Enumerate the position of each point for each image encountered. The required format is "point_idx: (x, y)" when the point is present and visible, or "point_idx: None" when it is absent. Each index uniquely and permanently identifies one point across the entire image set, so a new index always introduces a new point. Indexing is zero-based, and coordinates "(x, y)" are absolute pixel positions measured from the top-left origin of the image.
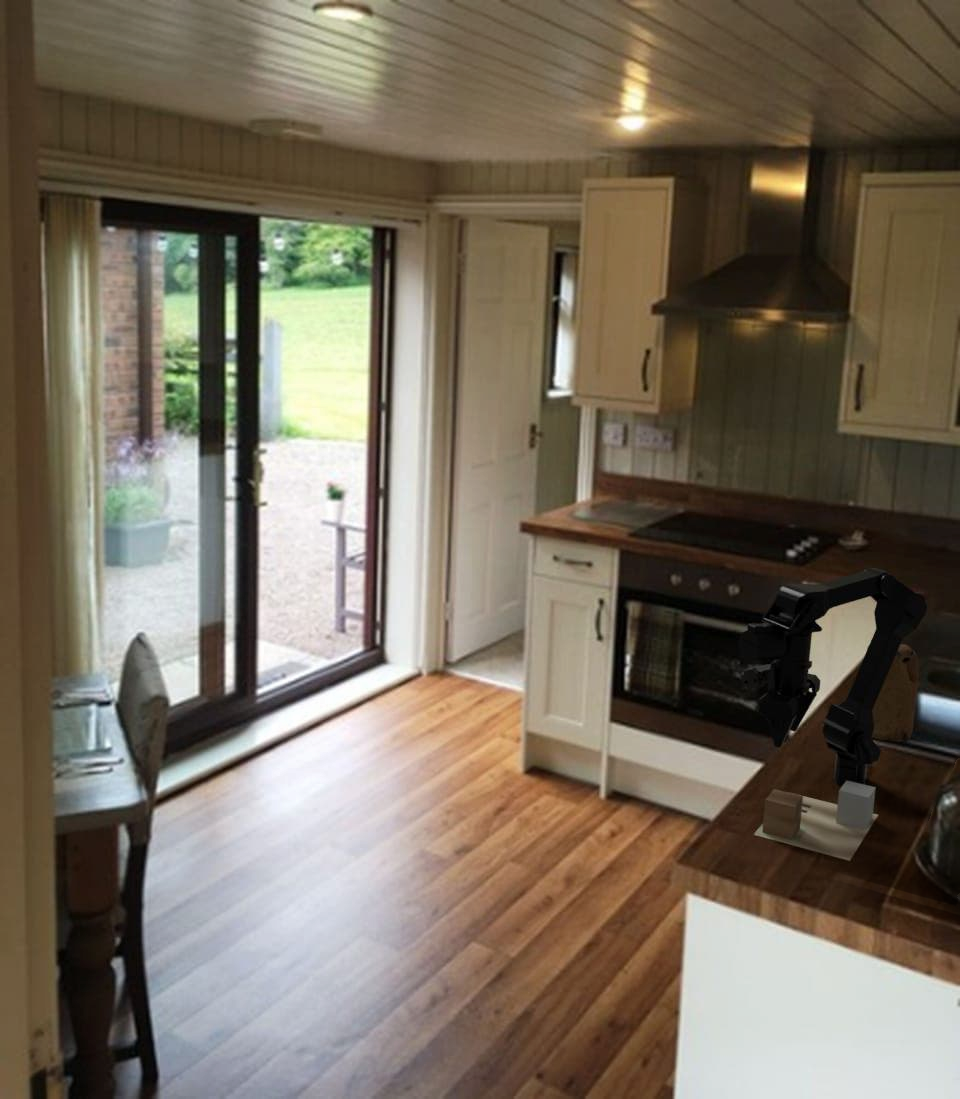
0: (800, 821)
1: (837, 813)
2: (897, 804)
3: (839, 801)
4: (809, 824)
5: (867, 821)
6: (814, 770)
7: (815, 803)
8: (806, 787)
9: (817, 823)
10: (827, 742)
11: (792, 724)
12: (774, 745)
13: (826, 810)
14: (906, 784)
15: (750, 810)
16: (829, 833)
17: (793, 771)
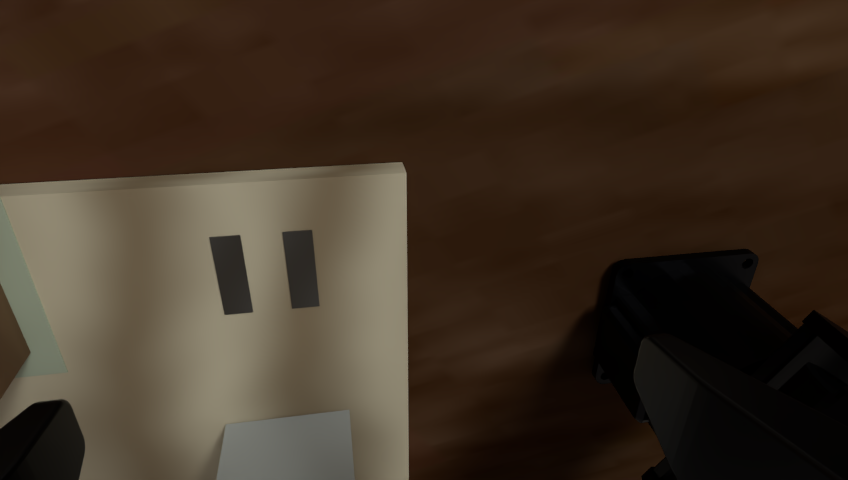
0: (11, 379)
1: (219, 461)
2: (570, 466)
3: None
4: (117, 363)
5: None
6: (779, 154)
7: (359, 308)
8: (568, 189)
9: (156, 381)
10: (827, 339)
11: (676, 406)
12: (32, 408)
13: (318, 362)
14: None
15: (91, 48)
16: (103, 440)
17: (737, 73)
